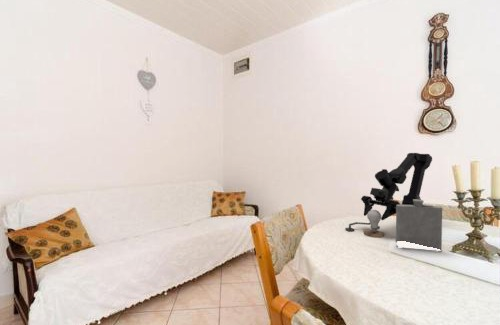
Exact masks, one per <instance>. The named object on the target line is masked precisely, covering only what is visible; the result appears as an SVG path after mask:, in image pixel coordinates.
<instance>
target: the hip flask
mask: <svg viewBox="0 0 500 325" xmlns="http://www.w3.org/2000/svg"><path fill="white" fill-rule="evenodd" d="M413 202H414V205H402V204H400V205H396V214H395V216H396V217H395V223H396V224H395V242H396V241H406V242H410V243H415V244H419V245H423V246H427V247H433V248H437V249H440V250H441V251H442V243H443V242H442V241H443V240H442V237H443V236H442V235H443V207H442V206H436V205H430V204H423V203H424V199H421V200H418V199H414V200H413Z"/></svg>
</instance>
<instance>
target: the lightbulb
mask: <svg viewBox="0 0 500 325" xmlns="http://www.w3.org/2000/svg"><path fill="white" fill-rule="evenodd" d="M366 217H367V219H368V221H369V223H370V225H369V226H370V228H371V229H370V230H371V231H372V232H374V233H375V232H377V231H378V229H377V228H378V226H379V223H380V221H382V220H381V218H382V215H381V212H380V211H379V210H376V209H371V210H370V211H369V212H368V214H367V215H366Z"/></svg>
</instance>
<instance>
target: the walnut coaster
mask: <svg viewBox="0 0 500 325" xmlns="http://www.w3.org/2000/svg"><path fill="white" fill-rule="evenodd" d="M363 235H364V236H367V237H371V238H384V237H385V232H383V231H381V230H377V232H375V233H374V232H372V231H371V229H365V230H363Z"/></svg>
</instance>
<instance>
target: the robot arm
mask: <svg viewBox="0 0 500 325" xmlns="http://www.w3.org/2000/svg"><path fill="white" fill-rule="evenodd" d="M432 161H433V157H432V156H431V154H429V153H419V152H409V153H407V154H406V157H405V158H404V159H403V160H402V162H400V164H399V165H398V166H397V167H396V168H394V169H392V170H391V171H388V170H387V169H386V168H382V169H381V170H380V171H378V172H376V173H375V174H374V178H375V179H376V181H377V183H378V184H379V185H380V186H381V187H382V188H381V189H380V188H375V187H371V190H370V193H369V196H367V195H362V197H361V198H360V200H361V201H362V202H363V204H364V211H363V216H364V217H367V214H368V212H369V211H370V210H373V207H374V205H378V206H381V207H385V211H384V212H383V214H382V215H381V220H380V221H384V220H386V219H388V218H389V217H392V216H393V215H396V205H414V202H413V200H414V199H418V200H422V199H421V196H420V194H421V189H422V185H423V181H424V177H425V173H426V170H427V169H428V168H430V166H431V164H432ZM411 168H414V169H413V174H412V177H411V178H412V179H411V183H410V187H409V191H408V193H407V194H405V195H403V196H402V197H403V198H402V200H401V203H400V201H398V200H394V195H395V193H396V192H400V189H399V185H402V184H404V182H406V179H407V177H408V176H407V174H408V172H409V171H410V170H411ZM370 195H372V196H373V198H374V199H373V198H372V196H370Z"/></svg>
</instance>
